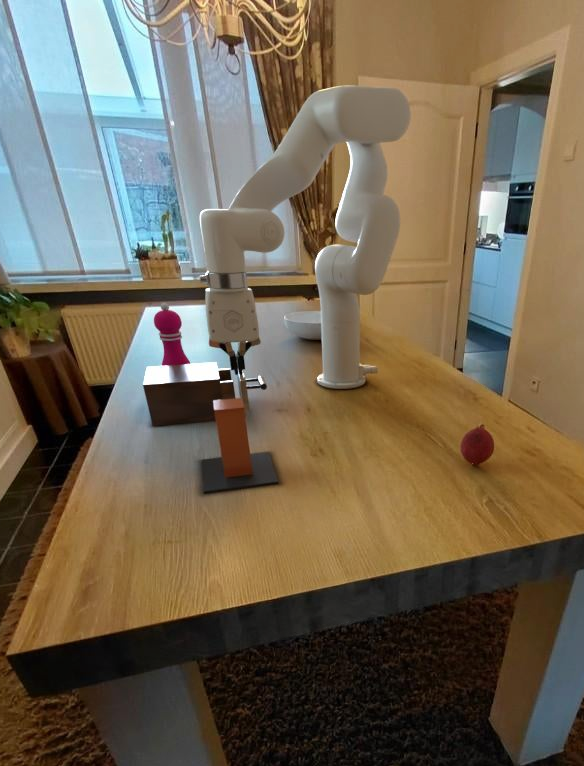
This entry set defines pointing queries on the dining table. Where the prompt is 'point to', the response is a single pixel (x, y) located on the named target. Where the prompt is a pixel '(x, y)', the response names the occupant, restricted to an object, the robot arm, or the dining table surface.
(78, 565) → the dining table surface
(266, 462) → the mat
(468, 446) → the onion
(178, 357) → the pepper mill
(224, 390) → the drawer
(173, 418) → the cabinet
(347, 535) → the dining table surface
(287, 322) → the serving bowl
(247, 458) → the tall orange-brown block
